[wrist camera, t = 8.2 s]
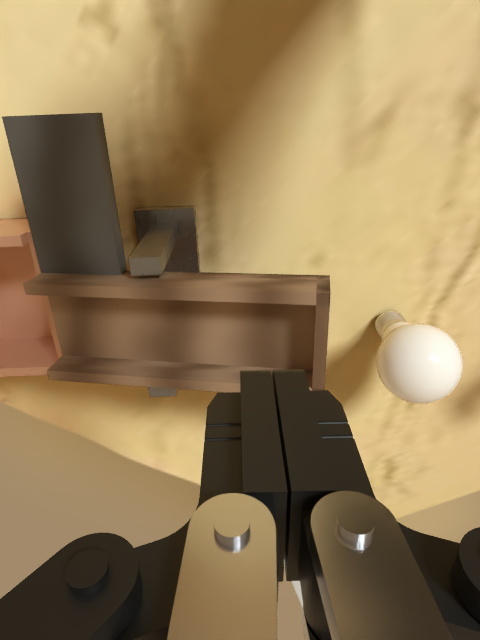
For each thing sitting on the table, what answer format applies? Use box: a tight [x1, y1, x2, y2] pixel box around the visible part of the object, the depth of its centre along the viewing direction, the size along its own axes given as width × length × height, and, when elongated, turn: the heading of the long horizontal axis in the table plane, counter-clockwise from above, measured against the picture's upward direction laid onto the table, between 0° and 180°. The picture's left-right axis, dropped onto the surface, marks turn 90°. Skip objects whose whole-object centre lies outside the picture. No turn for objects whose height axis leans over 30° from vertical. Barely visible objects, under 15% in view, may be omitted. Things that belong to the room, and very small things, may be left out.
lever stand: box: [128, 206, 200, 397], centre depth 35 cm, size 5×13×10 cm, turn 2°
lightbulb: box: [375, 311, 463, 404], centre depth 37 cm, size 6×6×11 cm
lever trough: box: [2, 113, 330, 392], centre depth 28 cm, size 20×18×3 cm
